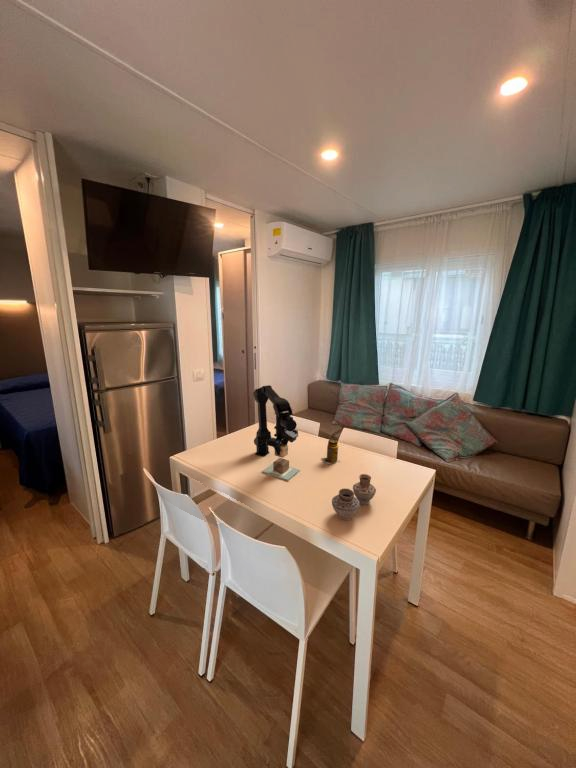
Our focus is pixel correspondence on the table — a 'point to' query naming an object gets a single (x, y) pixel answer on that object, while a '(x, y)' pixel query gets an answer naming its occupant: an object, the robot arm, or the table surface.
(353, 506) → the pottery
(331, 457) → the condiment
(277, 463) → the walnut block
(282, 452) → the oak cube
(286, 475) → the base board
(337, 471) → the table surface
